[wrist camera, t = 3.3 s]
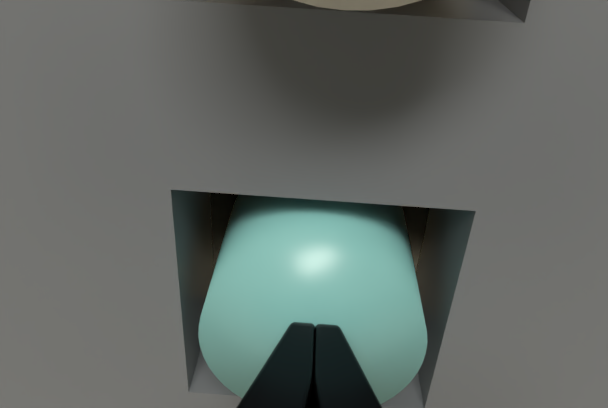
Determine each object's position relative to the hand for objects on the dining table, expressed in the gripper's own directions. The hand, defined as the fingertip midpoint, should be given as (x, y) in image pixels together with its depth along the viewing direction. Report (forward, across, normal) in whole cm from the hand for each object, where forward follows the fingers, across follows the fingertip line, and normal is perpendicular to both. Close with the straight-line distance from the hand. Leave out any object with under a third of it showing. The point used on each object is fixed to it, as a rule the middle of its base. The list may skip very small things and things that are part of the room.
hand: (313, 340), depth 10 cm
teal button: (+3, 0, 0) cm, 3 cm away
